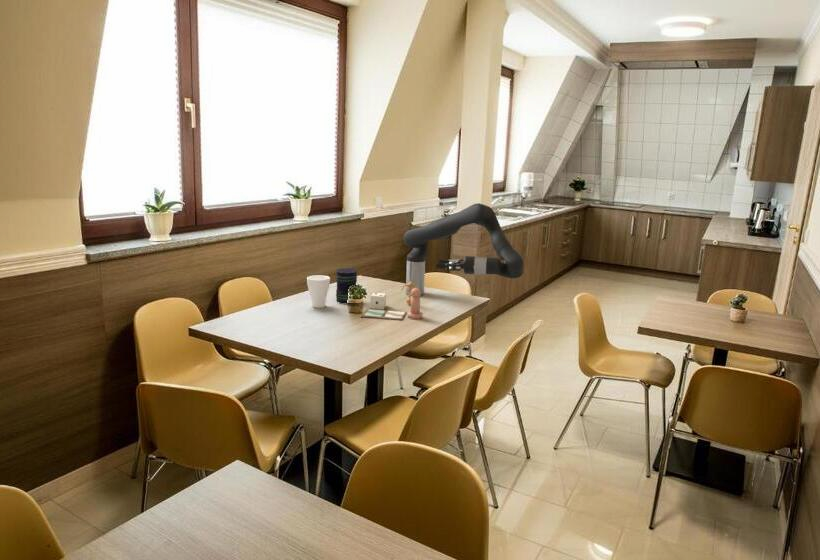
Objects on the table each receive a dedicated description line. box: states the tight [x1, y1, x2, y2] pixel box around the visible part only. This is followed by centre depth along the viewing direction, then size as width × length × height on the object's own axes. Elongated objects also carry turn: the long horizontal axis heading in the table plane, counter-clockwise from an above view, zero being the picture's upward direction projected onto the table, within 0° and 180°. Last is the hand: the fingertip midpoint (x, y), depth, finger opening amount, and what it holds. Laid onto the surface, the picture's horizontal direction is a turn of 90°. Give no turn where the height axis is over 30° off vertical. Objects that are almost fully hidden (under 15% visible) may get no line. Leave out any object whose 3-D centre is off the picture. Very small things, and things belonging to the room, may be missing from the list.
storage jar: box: [335, 268, 358, 304], centre depth 282 cm, size 10×10×15 cm
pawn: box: [407, 288, 423, 320], centre depth 259 cm, size 6×6×13 cm
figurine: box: [401, 281, 418, 306], centre depth 278 cm, size 8×6×12 cm
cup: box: [306, 274, 331, 309], centre depth 272 cm, size 10×10×14 cm
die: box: [369, 292, 387, 310], centre depth 274 cm, size 6×6×6 cm
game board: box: [360, 308, 408, 321], centre depth 262 cm, size 12×18×1 cm, turn 81°
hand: (437, 264), depth 253 cm, fingers open, 8 cm apart
